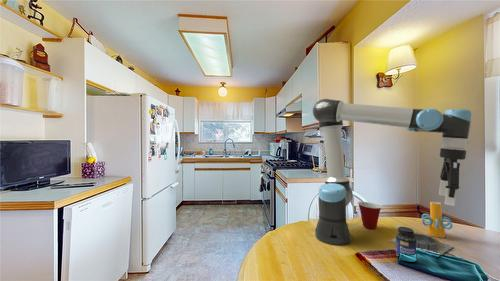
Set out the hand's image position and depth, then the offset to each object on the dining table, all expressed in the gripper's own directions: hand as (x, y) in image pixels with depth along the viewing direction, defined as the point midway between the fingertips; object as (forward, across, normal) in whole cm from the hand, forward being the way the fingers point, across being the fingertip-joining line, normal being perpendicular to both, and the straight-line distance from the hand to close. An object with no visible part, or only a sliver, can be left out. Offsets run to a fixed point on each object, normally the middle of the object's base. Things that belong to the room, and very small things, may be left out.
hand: (445, 200), depth 87 cm
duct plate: (+20, -4, +6) cm, 21 cm away
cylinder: (+20, +12, 0) cm, 24 cm away
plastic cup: (+23, +6, +26) cm, 35 cm away
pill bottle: (+20, -21, +12) cm, 31 cm away
